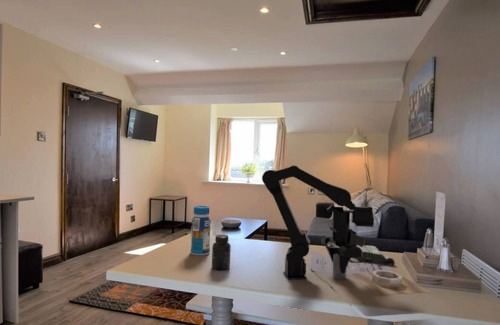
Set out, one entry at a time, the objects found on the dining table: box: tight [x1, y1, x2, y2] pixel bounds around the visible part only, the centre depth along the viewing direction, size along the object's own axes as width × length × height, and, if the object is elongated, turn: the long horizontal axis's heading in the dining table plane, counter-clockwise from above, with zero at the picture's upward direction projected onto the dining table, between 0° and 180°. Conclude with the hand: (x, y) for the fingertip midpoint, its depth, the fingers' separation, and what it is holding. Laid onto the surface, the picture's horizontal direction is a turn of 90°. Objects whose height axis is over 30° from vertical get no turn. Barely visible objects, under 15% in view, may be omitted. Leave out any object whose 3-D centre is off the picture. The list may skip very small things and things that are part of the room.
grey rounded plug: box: [332, 253, 347, 281], centre depth 106 cm, size 4×4×9 cm
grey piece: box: [351, 244, 396, 266], centre depth 131 cm, size 16×20×5 cm
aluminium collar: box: [371, 269, 403, 288], centre depth 103 cm, size 9×9×2 cm
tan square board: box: [348, 272, 431, 296], centre depth 103 cm, size 18×18×1 cm
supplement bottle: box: [211, 234, 232, 272], centre depth 116 cm, size 7×7×12 cm
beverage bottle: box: [190, 205, 212, 256], centre depth 134 cm, size 8×8×20 cm
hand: (339, 270), depth 106 cm, fingers closed on grey rounded plug, 4 cm apart
